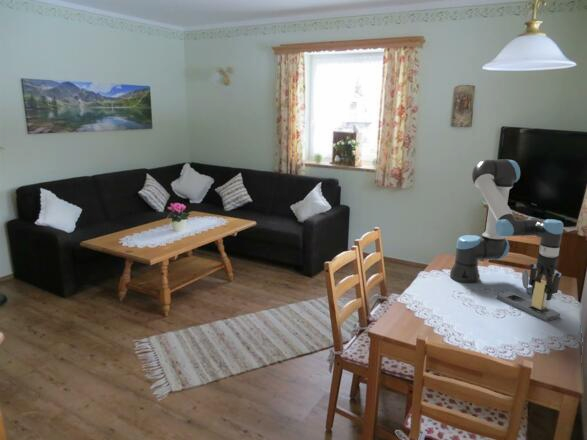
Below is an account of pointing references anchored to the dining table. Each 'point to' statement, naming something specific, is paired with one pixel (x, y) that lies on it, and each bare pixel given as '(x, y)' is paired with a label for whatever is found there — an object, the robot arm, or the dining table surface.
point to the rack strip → (527, 306)
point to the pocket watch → (526, 282)
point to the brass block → (539, 294)
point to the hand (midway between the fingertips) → (539, 303)
